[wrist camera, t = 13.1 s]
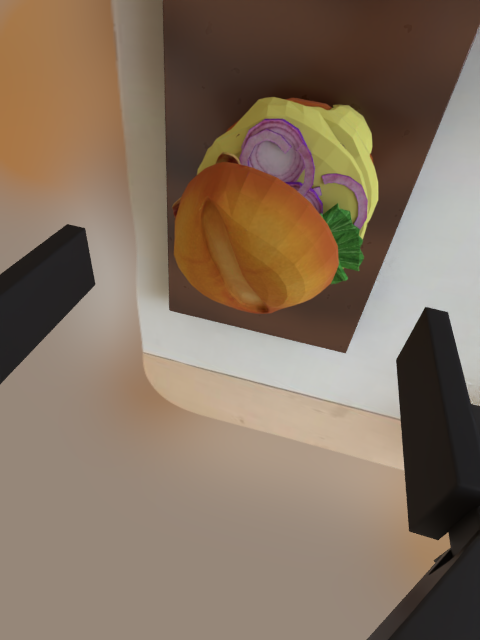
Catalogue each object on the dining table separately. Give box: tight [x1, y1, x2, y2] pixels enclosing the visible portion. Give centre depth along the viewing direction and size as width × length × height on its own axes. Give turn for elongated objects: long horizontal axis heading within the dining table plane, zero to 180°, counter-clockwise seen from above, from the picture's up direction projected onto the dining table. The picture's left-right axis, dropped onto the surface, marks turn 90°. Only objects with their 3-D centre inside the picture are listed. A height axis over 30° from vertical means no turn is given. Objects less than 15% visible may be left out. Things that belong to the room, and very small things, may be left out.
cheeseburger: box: [172, 97, 378, 314], centre depth 21 cm, size 10×11×10 cm
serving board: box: [163, 0, 480, 353], centre depth 24 cm, size 24×15×2 cm, turn 174°
